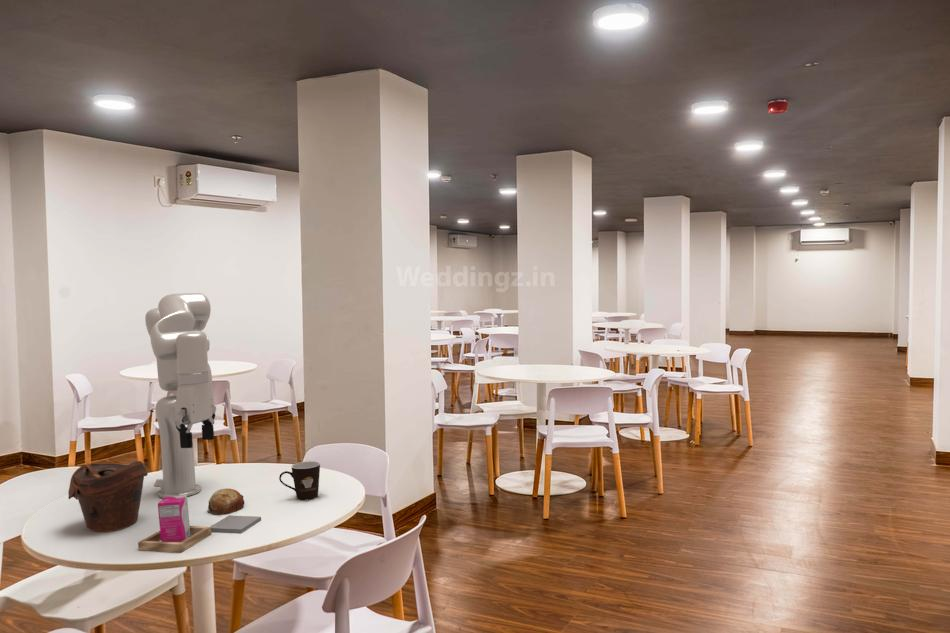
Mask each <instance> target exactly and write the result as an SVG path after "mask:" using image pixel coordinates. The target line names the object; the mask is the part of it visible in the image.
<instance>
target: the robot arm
mask: <svg viewBox="0 0 950 633" xmlns="http://www.w3.org/2000/svg"><path fill="white" fill-rule="evenodd" d="M157 306H158V307H156V308H152V309H149V310H148V311H147V312H146V314H145V317H144V319H145V326H146V330H147V333H148V335H149V338H150V344H151V348H152V352H153V355H154V356H155V358H156V368H157V370H156V371H157V379H158V380H157V381H158V385H159V388H160V389H161V390H162V391H165V392H176V394H174V395H167V396H163V397H161V398H160V399H159V400H157V401H156V404H155V407H154V408H155V415H156V421H157V424H158V429H159V430H158V431H159V438H160V450H161V452H160V454H161V468H162V479H161V478H158V479H156V480H155V482H154V483H153V487H155V488H159V487H160V490H159V491H158V497H159V498H162V499H164V498H165V497H168V496H180V495H187V497H189V496H193V495H195V494H198V493H199V492H200V491H202V486H201V485H200V484H198V483H196V481H197V480H196V468H195V451H194V439H193V432H192V431H191V430H192V427H193V425H194V424H198V423H199V424H200V423H202V424H201V437H202V439H201V440H205V441H208V440H209V441H211V440H214V439H215V431H214V428H215V427H214V424H215V418H216V411H217V406H215V398H214V388H213V387H214V386H213V374H212V369H211V366H210V364H209V360H208V351H210V338H209V336H208V335H207V334H206V332H204V329H205V328H206V326H207V323H208V321H209V320H210V316H211V302H210V300H209V298H208V297H207V295H205V294H203V293H200V292H191V293H188V292H187V293H185V292H184V293H171V294H167V295H165V296H163V297H162V298H161V299H160V300H159V302H158V305H157Z"/></svg>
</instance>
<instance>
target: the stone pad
mask: <svg viewBox="0 0 950 633" xmlns="http://www.w3.org/2000/svg"><path fill="white" fill-rule="evenodd" d="M261 521H262V516H254V515H253V516H252V515H250V516H249V515H227V516H225V517H224V518H222V519H220V520H219V521H217V522H216V523H214V524H212V525H210V526H209V527H211V533H230V534H242V533H244V532H245V531H247V530H248V529H250V528H252V527H253V526H255V525H256V524H258V523H259V522H261Z"/></svg>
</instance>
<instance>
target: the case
mask: <svg viewBox="0 0 950 633" xmlns="http://www.w3.org/2000/svg"><path fill="white" fill-rule="evenodd" d="M148 474H149V473H148V471H147V468H146V467H145V464H144V462H142V461H140V460H138V461H135V462H131V463H129V464H122V463H121V464H120V463H111V462H110V463H109V462H108V463H107V462H106V463H105V462H104V463H103V462H95V463H86V464H85V465H82V466H80V467H79V468H77V469H76V470H75V471H74V473H73V474H72V475H71V477H70V482H69V488H68V499H69V500H71V499H72V498H74V499H75V500H78V503H79V506H80V509H81V513H82V516H83V519H84V523H85V526H86V528H87V530H89V531H92V532H113V531H118V530H122V529H125V528H128V527H131V526H133V525H134V524H136V523H137V521H138V519H139V512H140V506H141V500H142V494H143V488H144V487H143V486H144V480H145V477H147V476H148Z"/></svg>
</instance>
